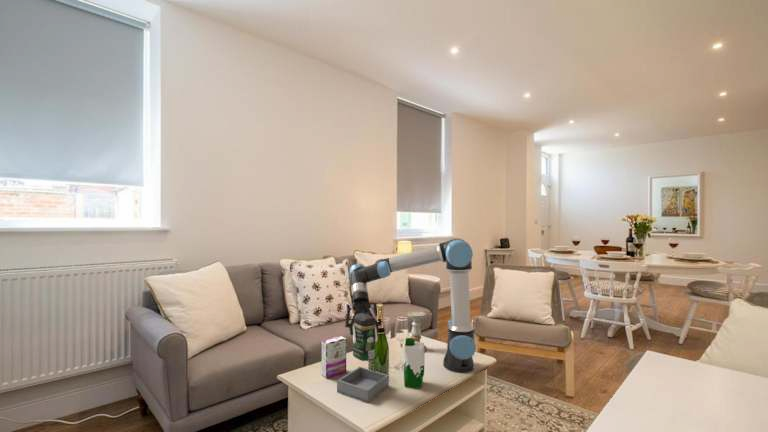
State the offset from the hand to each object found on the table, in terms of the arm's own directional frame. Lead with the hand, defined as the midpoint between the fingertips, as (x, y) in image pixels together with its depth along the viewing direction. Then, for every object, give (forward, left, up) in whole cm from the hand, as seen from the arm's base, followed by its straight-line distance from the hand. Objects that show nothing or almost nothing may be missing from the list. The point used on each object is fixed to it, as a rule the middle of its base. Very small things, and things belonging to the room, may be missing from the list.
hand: (365, 341), depth 156 cm
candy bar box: (+22, -7, -22) cm, 32 cm away
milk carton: (-14, -19, -22) cm, 32 cm away
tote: (+2, -2, -22) cm, 22 cm away
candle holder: (+4, -57, -22) cm, 61 cm away
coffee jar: (+2, -2, -8) cm, 9 cm away
